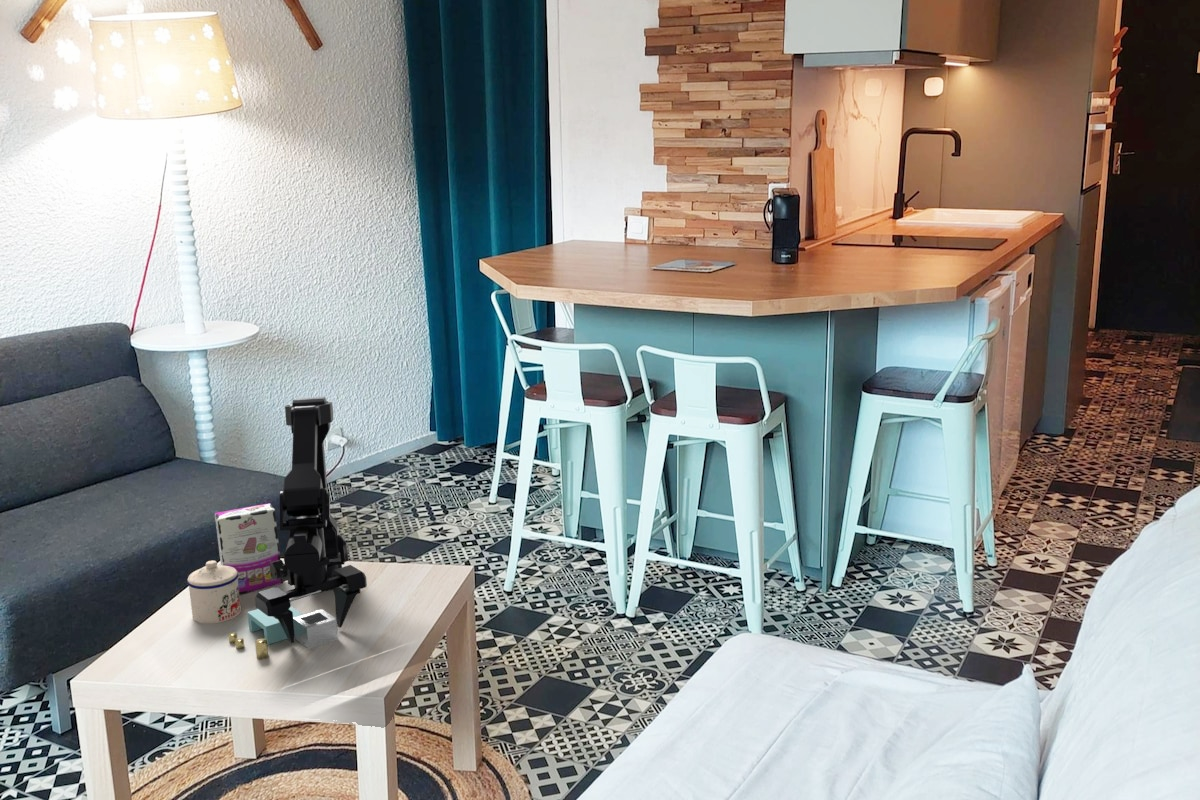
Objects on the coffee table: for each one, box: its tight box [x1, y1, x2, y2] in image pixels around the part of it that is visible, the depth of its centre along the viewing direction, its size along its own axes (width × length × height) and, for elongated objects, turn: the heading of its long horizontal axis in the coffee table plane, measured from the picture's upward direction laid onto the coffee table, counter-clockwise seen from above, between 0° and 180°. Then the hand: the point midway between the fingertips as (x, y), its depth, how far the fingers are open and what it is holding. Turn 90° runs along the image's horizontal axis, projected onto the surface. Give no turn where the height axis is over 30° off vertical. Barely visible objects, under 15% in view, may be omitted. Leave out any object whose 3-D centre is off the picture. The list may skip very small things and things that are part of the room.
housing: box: [247, 605, 304, 646], centre depth 198 cm, size 7×8×4 cm
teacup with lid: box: [186, 560, 242, 624], centre depth 206 cm, size 12×9×12 cm
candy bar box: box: [214, 502, 284, 595], centre depth 219 cm, size 11×5×16 cm, turn 117°
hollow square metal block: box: [293, 608, 339, 650], centre depth 194 cm, size 6×6×4 cm
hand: (315, 634), depth 195 cm, fingers open, 9 cm apart
